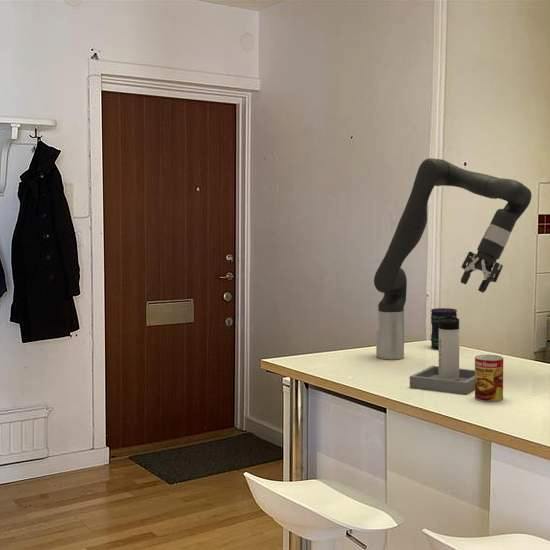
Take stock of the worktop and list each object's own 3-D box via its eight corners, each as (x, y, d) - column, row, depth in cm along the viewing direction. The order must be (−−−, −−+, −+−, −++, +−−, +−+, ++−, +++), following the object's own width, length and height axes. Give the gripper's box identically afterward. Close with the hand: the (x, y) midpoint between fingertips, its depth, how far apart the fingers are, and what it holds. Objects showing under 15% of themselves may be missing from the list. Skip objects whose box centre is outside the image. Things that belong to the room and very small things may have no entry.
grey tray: (409, 387, 243) (409, 376, 243) (432, 376, 258) (432, 365, 257) (466, 394, 233) (466, 382, 233) (486, 382, 248) (486, 371, 248)
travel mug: (460, 379, 248) (460, 316, 246) (458, 384, 241) (458, 319, 240) (440, 378, 250) (440, 315, 248) (437, 383, 243) (437, 318, 242)
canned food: (469, 398, 228) (469, 357, 227) (483, 393, 234) (484, 353, 233) (493, 403, 223) (494, 361, 222) (508, 397, 228) (508, 356, 227)
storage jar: (426, 347, 309) (425, 309, 307) (447, 345, 312) (447, 307, 311) (439, 351, 299) (439, 312, 298) (462, 349, 303) (462, 310, 302)
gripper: (471, 231, 256) (449, 277, 257) (502, 243, 244) (479, 291, 245) (486, 239, 260) (464, 284, 261) (517, 251, 248) (494, 298, 249)
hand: (471, 287), depth 253 cm, fingers open, 8 cm apart
